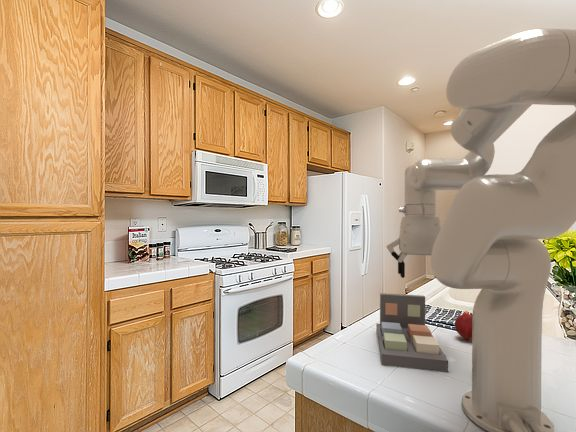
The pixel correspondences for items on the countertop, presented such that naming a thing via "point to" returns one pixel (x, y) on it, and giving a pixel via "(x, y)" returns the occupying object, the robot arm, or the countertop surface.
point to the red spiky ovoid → (464, 325)
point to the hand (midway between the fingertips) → (419, 277)
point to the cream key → (425, 344)
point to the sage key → (395, 342)
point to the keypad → (406, 333)
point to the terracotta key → (418, 330)
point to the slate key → (391, 328)
